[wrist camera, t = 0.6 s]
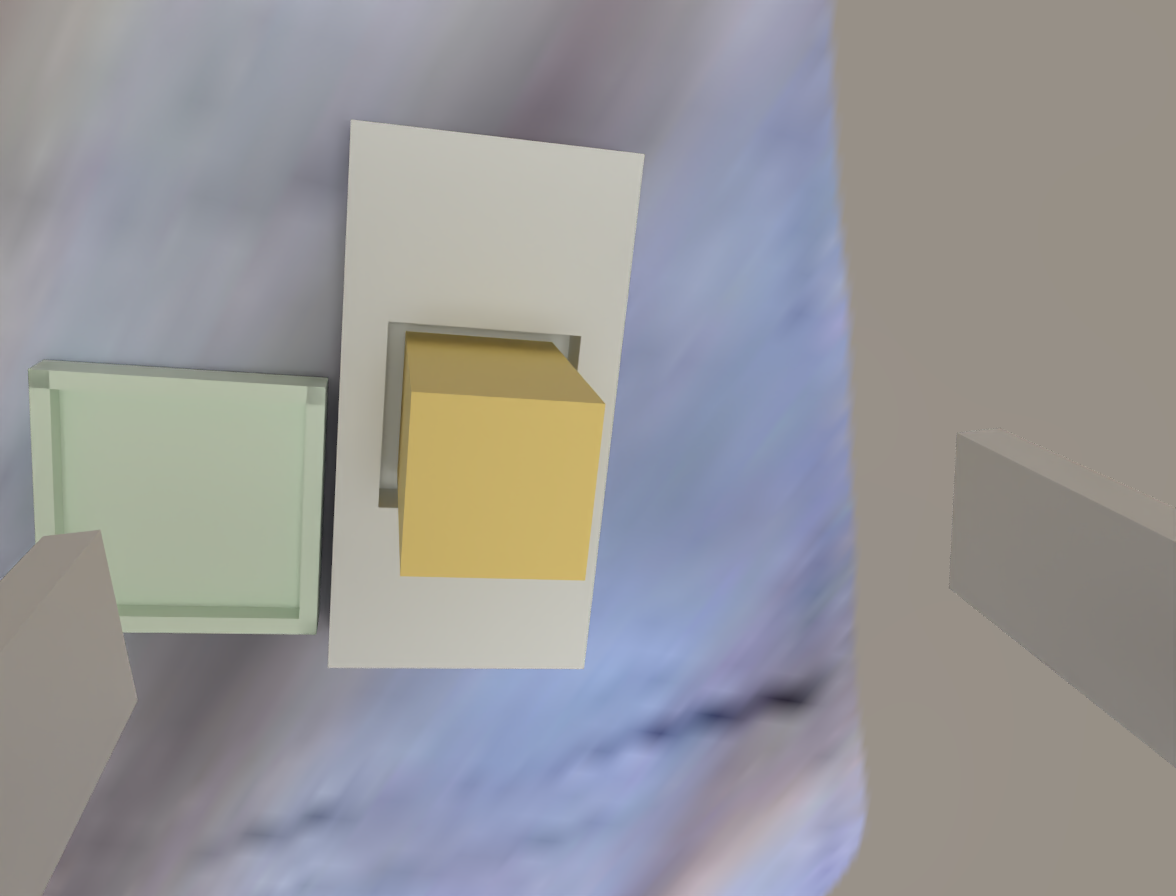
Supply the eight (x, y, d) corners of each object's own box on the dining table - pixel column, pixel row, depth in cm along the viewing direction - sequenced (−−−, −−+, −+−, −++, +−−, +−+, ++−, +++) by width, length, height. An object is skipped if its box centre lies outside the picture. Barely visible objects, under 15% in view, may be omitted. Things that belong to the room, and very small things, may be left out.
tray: (53, 612, 35) (39, 631, 33) (43, 359, 32) (28, 369, 31) (318, 615, 37) (316, 634, 35) (328, 377, 34) (325, 387, 33)
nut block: (397, 472, 35) (399, 576, 26) (405, 330, 33) (411, 391, 25) (538, 478, 36) (585, 580, 27) (552, 341, 34) (605, 403, 26)
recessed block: (332, 628, 37) (327, 667, 34) (354, 122, 32) (350, 119, 29) (569, 631, 39) (583, 668, 36) (623, 154, 34) (644, 154, 31)
